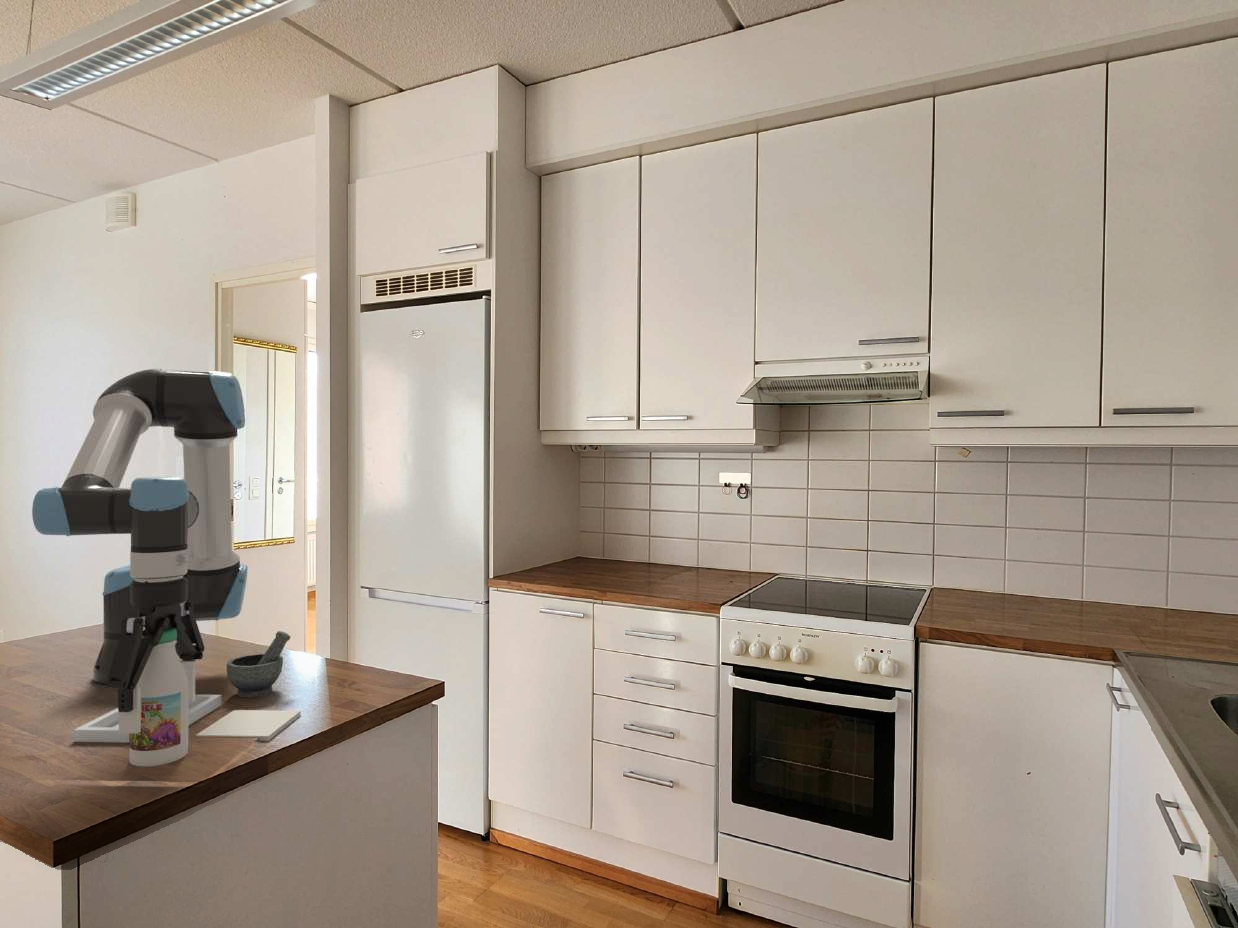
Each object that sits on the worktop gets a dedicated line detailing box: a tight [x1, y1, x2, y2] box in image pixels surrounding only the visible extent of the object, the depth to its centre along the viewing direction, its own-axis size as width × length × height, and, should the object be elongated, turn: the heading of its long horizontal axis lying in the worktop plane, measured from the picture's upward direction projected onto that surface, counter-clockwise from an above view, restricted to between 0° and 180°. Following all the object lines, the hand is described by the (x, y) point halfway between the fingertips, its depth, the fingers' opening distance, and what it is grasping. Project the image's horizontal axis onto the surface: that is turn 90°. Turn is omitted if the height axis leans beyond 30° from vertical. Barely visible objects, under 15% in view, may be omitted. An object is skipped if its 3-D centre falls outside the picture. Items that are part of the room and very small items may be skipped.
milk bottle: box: [128, 628, 189, 767], centre depth 115 cm, size 8×8×20 cm
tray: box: [73, 693, 223, 744], centre depth 129 cm, size 18×14×2 cm
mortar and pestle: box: [226, 630, 291, 698], centre depth 146 cm, size 11×9×12 cm
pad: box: [195, 709, 302, 742], centre depth 129 cm, size 12×12×1 cm
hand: (159, 715), depth 115 cm, fingers open, 13 cm apart
